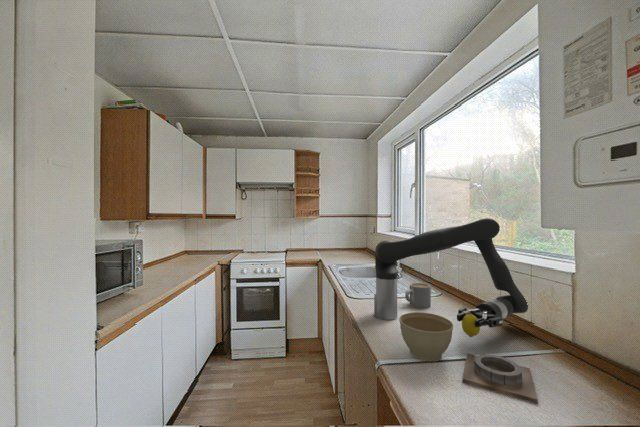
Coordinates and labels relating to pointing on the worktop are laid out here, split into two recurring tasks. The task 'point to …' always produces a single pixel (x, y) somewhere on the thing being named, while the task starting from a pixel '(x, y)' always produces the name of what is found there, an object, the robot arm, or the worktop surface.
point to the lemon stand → (499, 376)
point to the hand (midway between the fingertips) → (466, 321)
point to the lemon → (470, 325)
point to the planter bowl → (426, 334)
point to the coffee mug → (419, 295)
